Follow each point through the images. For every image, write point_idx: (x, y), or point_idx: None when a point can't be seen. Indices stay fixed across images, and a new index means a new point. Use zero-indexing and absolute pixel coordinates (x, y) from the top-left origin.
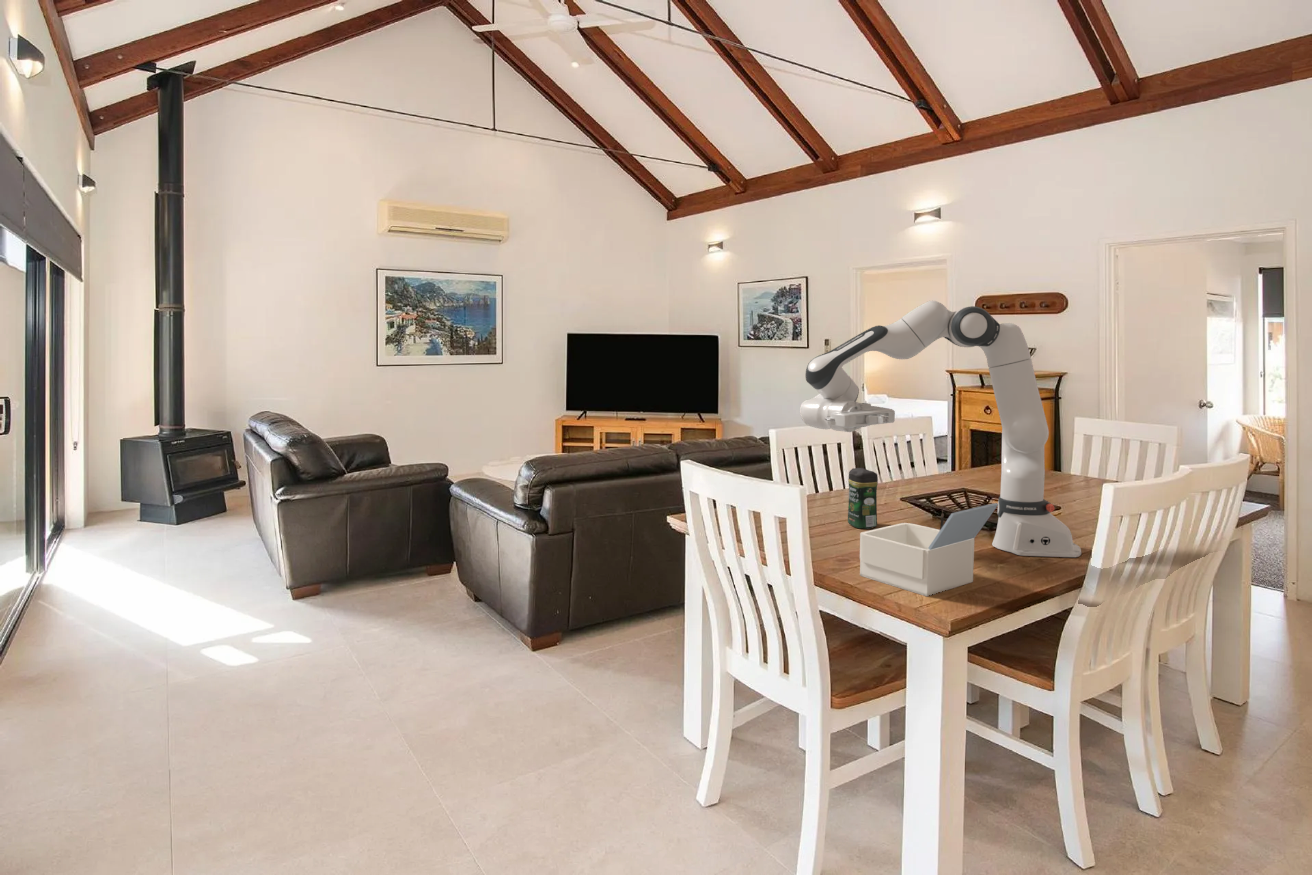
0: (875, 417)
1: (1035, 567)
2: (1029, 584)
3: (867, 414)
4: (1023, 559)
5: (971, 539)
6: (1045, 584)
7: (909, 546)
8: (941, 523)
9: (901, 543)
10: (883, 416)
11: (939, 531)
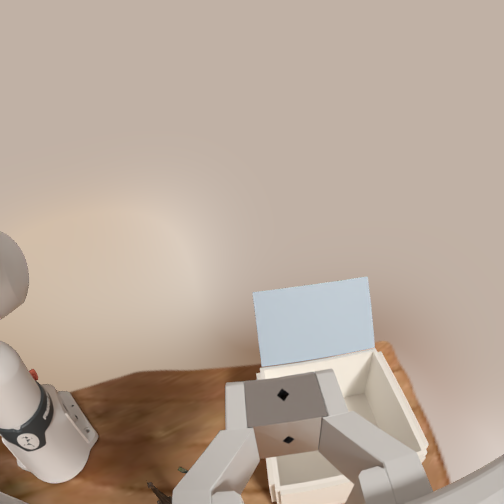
0: (365, 424)
1: (138, 405)
2: (213, 377)
3: (419, 497)
4: (112, 428)
5: (268, 367)
6: (199, 370)
7: (389, 369)
8: (159, 492)
9: (392, 383)
10: (280, 398)
11: (371, 313)
